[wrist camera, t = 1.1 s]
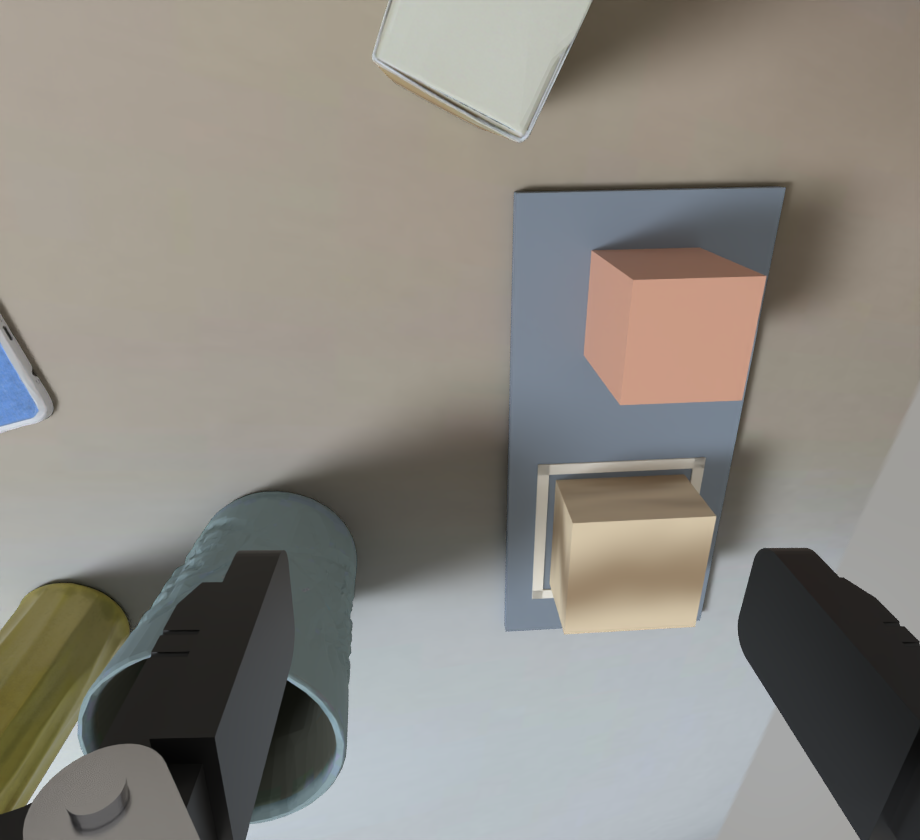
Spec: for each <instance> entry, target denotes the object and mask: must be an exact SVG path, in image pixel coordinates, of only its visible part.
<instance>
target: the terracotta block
mask: <svg viewBox="0 0 920 840" xmlns="http://www.w3.org/2000/svg"><path fill="white" fill-rule="evenodd" d="M766 277H767V276H765V275H763V274H760V273H758V272H756V271H753V270H751V269H749V268H746V267H744V266H742V265H739V264H737V263H735V262H732V261H730V260H728V259H725V258H723V257H721V256H718V255H716V254H714V253H711V252H709V251H707V250H704V249H702V248H700V247H699V248H661V249H623V250H591V263H590V277H589V290H588V303H587V317H586V330H585V343H584V356H585V358H586V359H587V361H588V362H589V363H590V365H591V366H592V367H593V369H594V370H595V372H596V373H597V374H598V376H599V377H600V378H601V380H602V381H603V382H604V384H605V385H606V387H607V388H608V389H609V391H610V392H611V393H612V395H613V396H614V398H615V399H616V400H617V402H618V403H619V404H620V405H638V404H664V403H689V402H714V401H740V400H742V398H743V393H744V388H745V383H746V378H747V373H748V368H749V363H750V358H751V353H752V348H753V343H754V338H755V332H756V327H757V322H758V317H759V312H760V307H761V302H762V297H763V292H764V287H765V282H766Z"/></svg>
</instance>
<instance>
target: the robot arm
mask: <svg viewBox="0 0 920 840" xmlns="http://www.w3.org/2000/svg"><path fill="white" fill-rule="evenodd" d="M738 636H739V641H740V645H741V648H742V651H743V653H744V655H745V657H746V659H747V660H748V662H749V663H750V665H751V667H752V668H753V670H754V671H755V673H756V675H757V676H758V678H759V679H760V681H761V683H762V684H763V686H764V687H765V689H766V690H767V692H768V694H769V695H770V697H771V698H772V700H773V702H774V703H775V705H776V706H777V708H778V709H779V711H780V713H781V714H782V715H783V717H784V719H785V721H786V722H787V724H788V725H789V727H790V729H791V730H792V732H793V733H794V735H795V736H796V738H797V740H798V741H799V743H800V744H801V746H802V748H803V749H804V751H805V752H806V754H807V756H808V757H809V759H810V760H811V762H812V764H813V765H814V767H815V768H816V770H817V771H818V773H819V774H820V776H821V777H822V779H823V781H824V783H825V784H826V786H827V787H828V789H829V790H830V792H831V794H832V795H833V797H834V798H835V800H836V801H837V803H838V805H839V806H840V808H841V809H842V811H843V813H844V814H845V816H846V817H847V819H848V821H849V822H850V824H851V825H852V827H853V829H854V830H855V832H856V833H857V835H858V836H859V838H860V840H920V644H919V641H918V640H917V639H916V638H915V637H914V636H913V635H912V634H911V633H910V632H909V631H908V630H907V629H906V628H905V627H902V626H900V624H899V621H898V620H897V619H896V618H895V617H894V616H893V615H892V614H891V613H890V612H889V611H888V610H887V609H886V608H885V607H884V606H883V605H882V604H881V603H880V602H879V601H878V600H877V599H876V598H875V597H873V596H872V595H870V594H868V593H867V592H865V591H864V590H862V589H861V588H859V587H858V586H856V585H854V584H853V583H851V582H850V581H848V580H846V579H845V578H839V576H838V575H837V574H836V573H835V572H834V571H833V570H832V569H831V568H830V567H829V566H828V565H827V564H826V563H825V562H824V561H823V560H822V559H821V558H820V557H819V556H818V555H817V554H816V553H815V552H814V551H813V550H811V549H808V548H763V549H761V550H759V551H758V553H757V554H756V556H755V558H754V561H753V565H752V569H751V573H750V577H749V580H748V584H747V588H746V592H745V596H744V599H743V603H742V607H741V611H740V615H739V619H738ZM294 640H295V623H294V612H293V602H292V592H291V582H290V572H289V562H288V556H287V553H286V551H285V550H239V551H238V552H237V553H236V554H235V556H234V558H233V560H232V562H231V565H230V567H229V569H228V571H227V573H226V575H225V577H224V579H223V582H202V583H201V584H200V585H199V586H197V587H196V588H195V589H194V590H193V591H192V592H191V593H189V594H188V595H187V596H186V597H185V598H184V599H183V600H181V601H180V602H179V603H178V604H177V605H176V607H175V609H174V611H173V613H172V614H171V616H170V618H169V620H168V622H167V624H166V625H165V627H164V629H163V635H160V636H159V638H158V640H157V642H156V644H155V646H154V647H153V649H152V651H151V657H150V658H147V660H146V662H145V664H144V666H143V668H142V669H141V671H140V673H139V675H138V677H137V679H136V680H135V682H134V684H133V686H132V688H131V690H130V692H129V693H128V695H127V697H126V699H125V701H124V703H123V704H122V706H121V708H120V710H119V712H118V714H117V715H116V717H115V719H114V721H113V723H112V725H111V726H110V728H109V730H108V732H107V734H106V736H105V737H104V739H103V741H102V743H101V745H100V746H99V748H98V749H97V750H96V751H93V752H91V753H89V754H86V755H84V756H82V757H81V758H79V759H77V760H75V761H74V762H72V763H71V764H69V765H68V766H66V767H65V768H64V769H62V770H61V771H60V772H59V773H57V774H56V775H55V776H54V777H53V778H52V779H51V780H50V781H49V782H48V783H47V784H46V785H45V786H44V787H43V788H42V790H41V791H40V792H39V794H38V795H37V796H36V798H35V799H34V801H33V803H30V804H28V805H26V806H24V807H21V808H18V809H15V810H12V811H10V812H6V813H3V814H0V840H246V836H247V832H248V828H249V824H250V820H251V816H252V813H253V809H254V805H255V801H256V797H257V793H258V790H259V786H260V782H261V778H262V774H263V770H264V766H265V763H266V759H267V755H268V751H269V747H270V743H271V740H272V736H273V732H274V728H275V724H276V720H277V716H278V713H279V709H280V705H281V701H282V697H283V693H284V690H285V686H286V682H287V678H288V674H289V670H290V666H291V662H292V657H293V651H294Z"/></svg>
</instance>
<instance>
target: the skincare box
mask: <svg viewBox="0 0 920 840" xmlns="http://www.w3.org/2000/svg"><path fill="white" fill-rule="evenodd" d="M592 1H593V0H389V1H388V4H387V7H386V10H385V13H384V16H383V20H382V23H381V27H380V30H379V33H378V36H377V40H376V43H375V46H374V50H373V53H372V60H373V61H374V63H375V64H376V65H377V66H379V68H380V69H381V70H382V71H383V72H384V73H385V74H386V75H387V76H388V77H389V78H390V79H391V80H392V81H393V82H394V83H395V84H397V85H399V86H401V87H403V88H404V89H406V90H408V91H410V92H412V93H413V94H415V95H417V96H419V97H421V98H422V99H424V100H426V101H428V102H430V103H431V104H433V105H435V106H437V107H439V108H441V109H442V110H444V111H446V112H448V113H450V114H452V115H454V116H456V117H458V118H460V119H462V120H464V121H466V122H468V123H470V124H472V125H474V126H476V127H478V128H481V129H483V130H486V131H489V132H491V133H494V134H497V135H500V136H502V137H505V138H508V139H510V140H512V141H514V142H518V143H520V142H523V141H525V140H526V139H527V138H528V137H529V136H530V134H531V131H532V129H533V127H534V125H535V123H536V121H537V118H538V116H539V114H540V112H541V110H542V108H543V106H544V104H545V102H546V100H547V98H548V95H549V93H550V91H551V89H552V87H553V85H554V83H555V80H556V78H557V76H558V74H559V72H560V70H561V68H562V66H563V64H564V61H565V59H566V57H567V55H568V52H569V50H570V48H571V46H572V44H573V42H574V40H575V38H576V36H577V34H578V31H579V29H580V27H581V25H582V23H583V21H584V18H585V16H586V14H587V12H588V10H589V7H590V5H591V3H592Z"/></svg>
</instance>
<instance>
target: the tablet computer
mask: <svg viewBox="0 0 920 840" xmlns="http://www.w3.org/2000/svg"><path fill="white" fill-rule="evenodd" d="M32 369H33V368H32V366H31V364H30V362H29V360H28V359H27V357H26V355H25V354H24V352H23V350H22V349H21V347H20V345H19V343H18V342H17V340H16V339H15V337H14V336H13V334H12V332H11V331H10V329H9V327H8V325H7V324H6V322H5V320H4V319H3V317H2V315H1V313H0V433H3V432H6V431H8V430H11V429H16V428H19V427H22V426H26V425H30V424H34V423H38V422H41V421H43V420H45V419H47V418H48V417H49V416H50V415H51V414H52V412H53V410H54V407H53V402H52V400H51V398H50V396H49V394H48V392H47V391H46V389H45V387H44V386H43V384H42V382H41V381H40V379H39V378H38V377H37V376H36V375H34V374H33V371H32Z"/></svg>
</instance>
